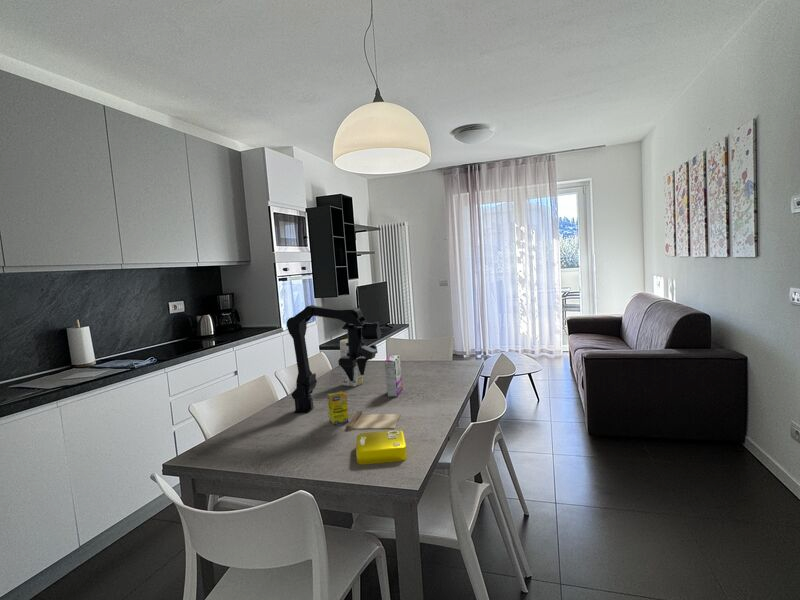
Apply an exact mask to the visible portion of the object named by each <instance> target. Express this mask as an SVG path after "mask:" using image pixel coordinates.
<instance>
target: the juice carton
mask: <svg viewBox="0 0 800 600" xmlns="http://www.w3.org/2000/svg"><path fill="white" fill-rule="evenodd" d="M346 343H348V338H345V339H341V340H339V349H340V350H339V351H340V358H342V357H344V356H347V353H349V351H348V346H346ZM356 365H357V363H356ZM341 375H342V384H343V386H349V387H357V386H360V385H362V384H363V379H364V378H363V377H364V375H361V374H360V371H359V368H358V365H357V366H356V367H355V368H354V379H353V381H350V379H349V378H348V376H347V374H346V372H345V371H344V369H343V368H342V367H341Z"/></svg>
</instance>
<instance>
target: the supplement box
mask: <svg viewBox="0 0 800 600" xmlns="http://www.w3.org/2000/svg"><path fill="white" fill-rule="evenodd" d="M347 396H348V395H347V394H346V393H345V392H344V391H337V392H332V393H327V403H328V404H327V405H328V420H329V422H330V423H331V424H332V425H333V427H335V426H339V425H344V424H348V423H349V411H348V410H349V409H348V397H347Z"/></svg>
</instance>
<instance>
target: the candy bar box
mask: <svg viewBox="0 0 800 600" xmlns="http://www.w3.org/2000/svg"><path fill="white" fill-rule="evenodd" d="M384 369H385V379H386V381H385V382H386V389H387V390H386V392H387V393H386V394H387V398H388V397H389V398H391V397H393V398H394V397H395V398H397V397H399V395H400V393H402V390H403V382H402V381H403V379H402V367H401V356H400V354H397V355H395V354H394V355H392V354H391V355H389V356H388V358H386V360H384Z"/></svg>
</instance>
